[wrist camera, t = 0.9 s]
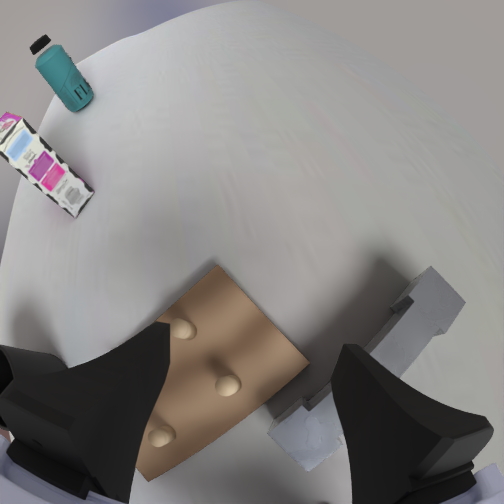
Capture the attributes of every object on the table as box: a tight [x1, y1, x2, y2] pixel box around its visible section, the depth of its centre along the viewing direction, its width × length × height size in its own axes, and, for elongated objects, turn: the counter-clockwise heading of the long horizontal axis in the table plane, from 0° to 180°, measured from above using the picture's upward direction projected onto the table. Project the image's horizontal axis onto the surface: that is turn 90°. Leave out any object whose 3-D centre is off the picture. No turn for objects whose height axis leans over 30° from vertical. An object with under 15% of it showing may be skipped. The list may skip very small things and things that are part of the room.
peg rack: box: [135, 265, 310, 482], centre depth 22 cm, size 12×20×4 cm, turn 132°
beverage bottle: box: [30, 35, 93, 112], centre depth 36 cm, size 6×7×20 cm
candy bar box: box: [0, 112, 94, 218], centre depth 29 cm, size 11×5×16 cm, turn 59°
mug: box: [0, 345, 67, 431], centre depth 21 cm, size 9×12×9 cm
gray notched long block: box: [267, 266, 466, 472], centre depth 20 cm, size 17×4×5 cm, turn 132°
